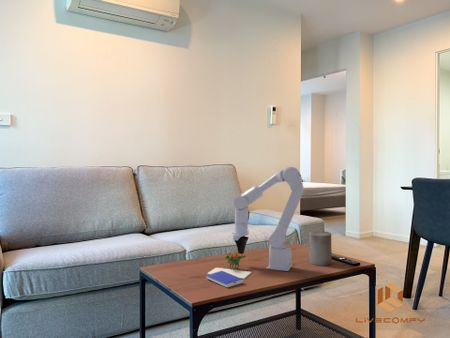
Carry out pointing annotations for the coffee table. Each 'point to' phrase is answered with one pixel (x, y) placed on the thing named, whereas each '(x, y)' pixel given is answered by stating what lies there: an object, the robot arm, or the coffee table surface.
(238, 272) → the cream mat
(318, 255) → the pillar candle
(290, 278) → the coffee table surface
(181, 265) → the coffee table surface
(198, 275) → the coffee table surface
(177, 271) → the coffee table surface
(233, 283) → the hard drive
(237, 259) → the figurine
